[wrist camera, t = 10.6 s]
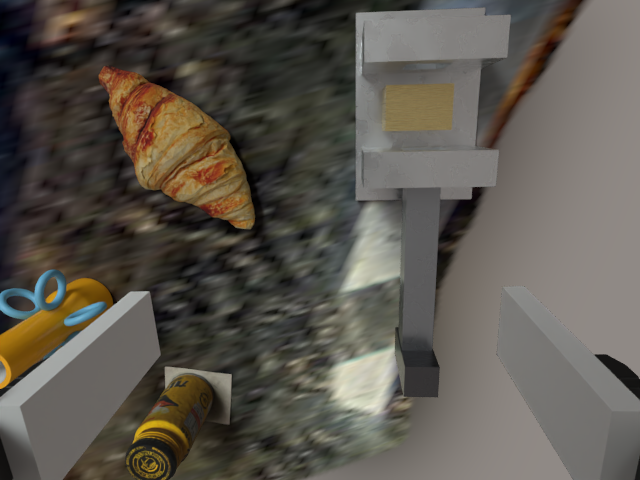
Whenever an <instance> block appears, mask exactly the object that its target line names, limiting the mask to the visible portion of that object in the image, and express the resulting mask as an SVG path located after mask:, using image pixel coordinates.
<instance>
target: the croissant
mask: <svg viewBox="0 0 640 480" xmlns="http://www.w3.org/2000/svg"><path fill="white" fill-rule="evenodd" d="M99 80H100V81H99V82H100V84H101V85H102V86H103V87H104V88H105V89H106V91H107V92H108V93H109V94H110V95H109V96H110V99H109V104H110V108H111V110H112V113H113V117H114V118H115V121H116V123H117V126H119V130H120V131H121V133H122V134H123V136H124V141H123V142H122V143H123V146H124V148H125V152H126V153H127V154H128V155H129V156H130V158H131V159H132V161H133V162H134V166H135V172H136V176H137V179H138V181H139V183H140V184H141V186H143V187H144V188H146V189H152V190H159V189H162V191H163V192H164V193H165V194H166V195H168V196H170V197H171V198H173V199H174V200H176V201H178V202H187V203H191V204H193V205H195V206H198V207H199V208H201V209H202V210H203V211H205V212H206V213H207V214H209V215H210V216H211V217H215V218H221V219H223V220H228V221H229V222H230V223H231V224H232V225H234V226H235V228H242V229H251V228H252V226H253V225H254V222H255V214H254V207H253V203H252V200H251V192H250V187H249V184H248V182H247V179H246V177H247V176H246V173H245V171H244V169H243V165H242V163H241V161H240V160H239V158H238V156H237V155H236V153H235V151H234V149H233V147H232V145H231V144H230V142H229V140H230V135H229V132H228V131H227V130H226V129H225V128H223V127H222V126H221V125H219V123H217V122H216V121H215V120H213V119H212V118H211V117H210V116H208V115H207V114H205V113H204V112H202V111H201V109H199V108H198V107H197V106H196V105H194V104H193V103H191V102H189V101H188V100H186V99H184V98H182V97H180V96H178V95H176V94H174V93H172V92H170V91H169V90H167V89H165V88H163V87H161V86H158V85H155V84H152V83H149V81H147V80H146V79H145V78H144V77H143V76H141V75H139V74H137V73H135V72H129V71H124V70H120V69H118V68H114V67H112V66H105V67H103V69H102V71H101V72H100V74H99Z"/></svg>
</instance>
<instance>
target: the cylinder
mask: <svg viewBox="0 0 640 480" xmlns="http://www.w3.org/2000/svg"><path fill="white" fill-rule="evenodd" d="M52 277H55V278H56V279H57V282H58V290H57V291H55V292H53V293H52V294H50V295H49V296H48V297H47V299H46V300H45V299H44V288H45V285H46V283H47V282H48V280H49V279H50V278H52ZM10 296H23V297H26V298H28V299H30V300H31V301H33V302H34V304H35V309H34V310H32V311H28V312H24V311H18V310H15V309H13V308H11V307H10V306H9V305H8V304H7V302H6V299H7V298H8V297H10ZM112 306H113V299H112V296H111V294H110V292H109V290H108V289H107V288H106V287H105V286H104V285H103V284H102V283H100V282H98V281H97V280H94V279H89V278H81V279H77V280H75V281H73V282H71V283H69V284H67V285H66V279H65V277H64V275H63V274H62V273H61V272H60V271H58V270H49V271H47V272H45V273H44V274H43V275H42V276H41V277H40V278H39V280H38V282H37V284H36V287H35V293H33V292H31V291H29V290H25V289H19V288H14V289H8V290H5V291H3V292H2V293H0V310H1V311H2V312H3V313H5V314H7V315H8V316H11V317H14V318H18V319H26V320H24V321H23V322H21V323H19V324H18V325H16V326H14V327H13V328H11V329H9V330H8V331H6V332H5V333H3V334H1V335H0V389H1V388H3V387H5V386H6V385H8V384H9V383H10V382H12V381H13V380H14V379H15V378H17V377H18V376H19V375H21V374H22V373H23V372H25V371H26V370H27V369H28V368H30V367H31V366H33V365H34V364H35V363H36V362H38V361H39V360H40V359H42V358H43V357H44V359H46V358H48V357H50V356H52V355H53V354H54V353H55V351H56V350H57V348H58V347H60V346H64V345H65V344H67V343H68V342H69V341H70V340H71V339H73V338H74V337H75V336H76V335H78V334H79V333H80V332H81V331H83V330H84V329H85V328H86V327H88V326H89V325H90V324H91V323H92V322H94V321H95V320H96V319H97V318H99V317H100V316H101V315H102V314H104V313H105V312H106V311H107V310H109V309H110V308H111V307H112Z"/></svg>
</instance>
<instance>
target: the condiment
mask: <svg viewBox="0 0 640 480" xmlns="http://www.w3.org/2000/svg"><path fill="white" fill-rule="evenodd" d="M231 377H232V374H223V373H214V372H206V371H199V370H193V369H183V368H175V367H165V390H164V392H163V393H162V395H161V396H160V397H159V399H158V401H157V402H156V404H155V405H154V407H153V408H152V410H151V411H150V412H149V414H148V415H147V417H146V418H145V420H144V421H143V422H142V424H141V425H140V427H139V428H138V430H137V432H136V434H135V439H134V441H133V444H132V445H131V446H130V447H129V449H128V451H127V453H126V460H125V464H126V468H127V469H128V472H129V473H130V474H131V475H132V476H133V477H134V478H135V479H136V480H169V479H170V478H171V477H173V475H174V474H175V471H176V469H177V467H178V466H179V465H180V463H181V462H182V461H183V460H185V458H186V457H187V455H188V453H189V451H190V449H191V447H192V445H193V443H194V441H195V439H196V437H197V435H198V433H199V431H200V429H201V427H202V425H203V422H204V421H207V422H215V423H220V424H230V407H231ZM212 384H213V385H214V386H213V385H212ZM215 386H216V387H217V388H215Z"/></svg>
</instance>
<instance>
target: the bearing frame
mask: <svg viewBox="0 0 640 480" xmlns="http://www.w3.org/2000/svg"><path fill="white" fill-rule="evenodd" d="M510 20H511V15H491V16H485V8H462V9H438V10H414V11H389V12H365V13H356V200H402V199H403V188H430V187H441V195H440V199H472V187H495V186H496V179H497V168H498V157H499V150H496V149H490V148H484V147H478V146H475V143H476V130H477V116H478V102H479V88H480V75H481V68H484V67H486V66H488V65H491V64H493V63H496V62H498V61H500V60H503V59H505V58H507V54H508V43H509V31H510ZM446 83H454V99H453V116H452V130H420V131H382V100H383V88H384V87H385V86H386V85H409V84H446Z"/></svg>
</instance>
